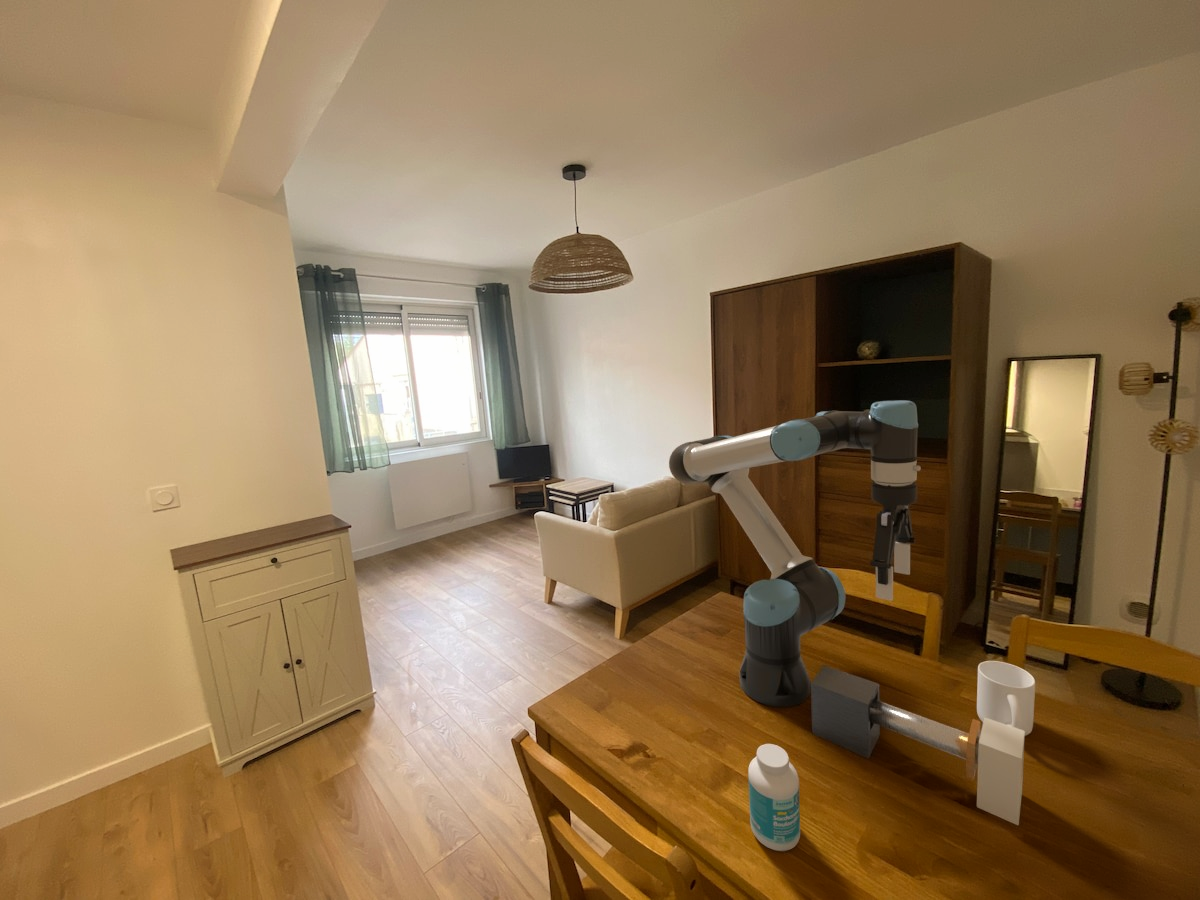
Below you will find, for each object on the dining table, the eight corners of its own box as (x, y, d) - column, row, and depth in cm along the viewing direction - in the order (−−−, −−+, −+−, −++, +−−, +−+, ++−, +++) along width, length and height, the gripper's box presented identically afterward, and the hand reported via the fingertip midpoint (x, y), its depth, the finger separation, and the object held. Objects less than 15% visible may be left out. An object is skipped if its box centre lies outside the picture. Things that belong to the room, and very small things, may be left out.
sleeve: (812, 733, 93) (810, 682, 92) (825, 713, 98) (823, 665, 96) (868, 758, 86) (868, 704, 85) (879, 735, 91) (879, 684, 89)
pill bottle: (780, 864, 70) (776, 784, 68) (740, 826, 76) (736, 752, 74) (811, 834, 74) (808, 757, 71) (770, 801, 80) (767, 729, 78)
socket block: (976, 806, 75) (978, 742, 74) (982, 778, 80) (984, 717, 79) (1018, 825, 72) (1021, 758, 70) (1021, 794, 77) (1024, 730, 75)
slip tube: (857, 731, 87) (856, 700, 86) (867, 712, 92) (867, 682, 91) (998, 790, 73) (999, 754, 72) (1002, 764, 78) (1003, 729, 77)
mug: (1046, 758, 83) (1049, 705, 81) (986, 745, 87) (988, 694, 85) (1024, 713, 93) (1027, 665, 92) (972, 703, 97) (973, 657, 96)
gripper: (900, 499, 80) (899, 616, 83) (930, 469, 97) (929, 567, 100) (851, 494, 85) (853, 605, 88) (888, 467, 103) (888, 560, 106)
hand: (893, 585), depth 94 cm, fingers open, 13 cm apart
